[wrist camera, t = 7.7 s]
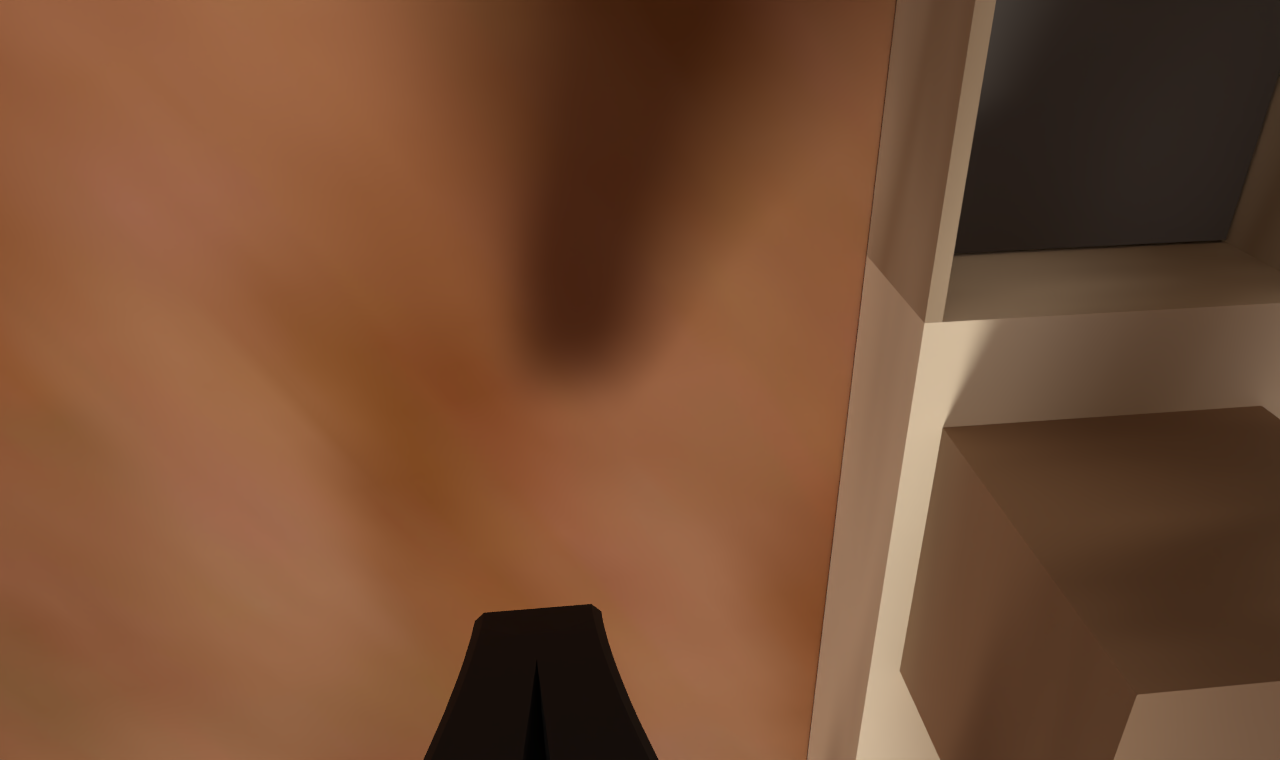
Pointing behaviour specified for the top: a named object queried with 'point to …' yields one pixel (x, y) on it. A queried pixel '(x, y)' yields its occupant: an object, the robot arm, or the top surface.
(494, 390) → the top surface
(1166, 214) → the birch tray
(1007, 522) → the walnut block
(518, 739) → the robot arm
